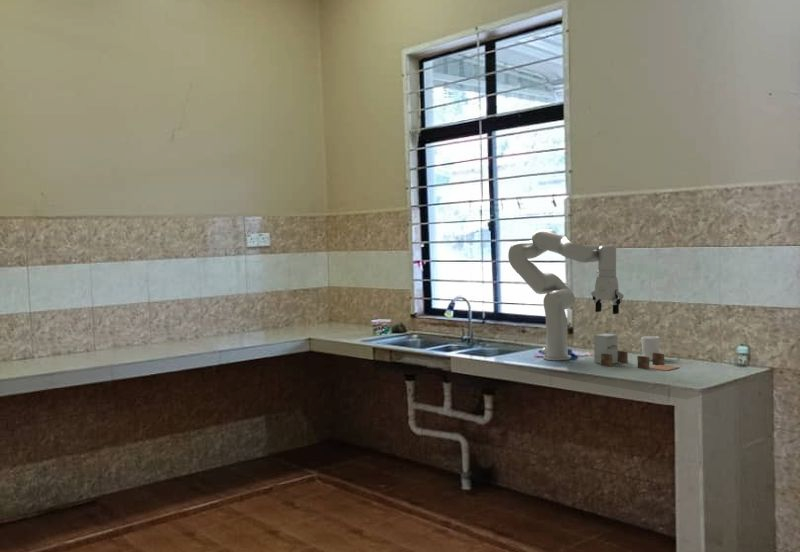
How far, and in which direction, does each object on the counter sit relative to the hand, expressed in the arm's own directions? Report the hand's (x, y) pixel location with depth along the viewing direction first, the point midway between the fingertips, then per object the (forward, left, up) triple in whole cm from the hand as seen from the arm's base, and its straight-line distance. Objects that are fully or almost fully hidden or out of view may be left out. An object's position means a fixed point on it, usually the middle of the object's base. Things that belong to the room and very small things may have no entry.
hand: (607, 312), depth 334 cm
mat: (+24, +6, -23) cm, 33 cm away
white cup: (+8, +21, -23) cm, 32 cm away
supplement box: (-1, +1, -23) cm, 23 cm away
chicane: (+11, +3, -23) cm, 25 cm away
